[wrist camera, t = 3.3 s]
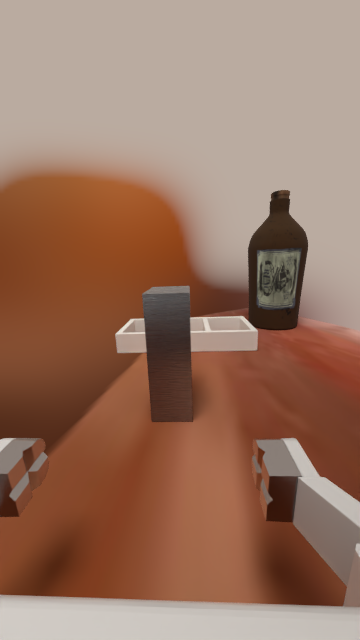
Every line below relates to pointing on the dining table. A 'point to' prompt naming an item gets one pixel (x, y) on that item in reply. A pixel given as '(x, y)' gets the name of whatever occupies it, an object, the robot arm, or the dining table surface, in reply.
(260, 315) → the olive oil
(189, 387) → the dark grey metallic block
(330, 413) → the dining table surface
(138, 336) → the rack
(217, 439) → the dining table surface
